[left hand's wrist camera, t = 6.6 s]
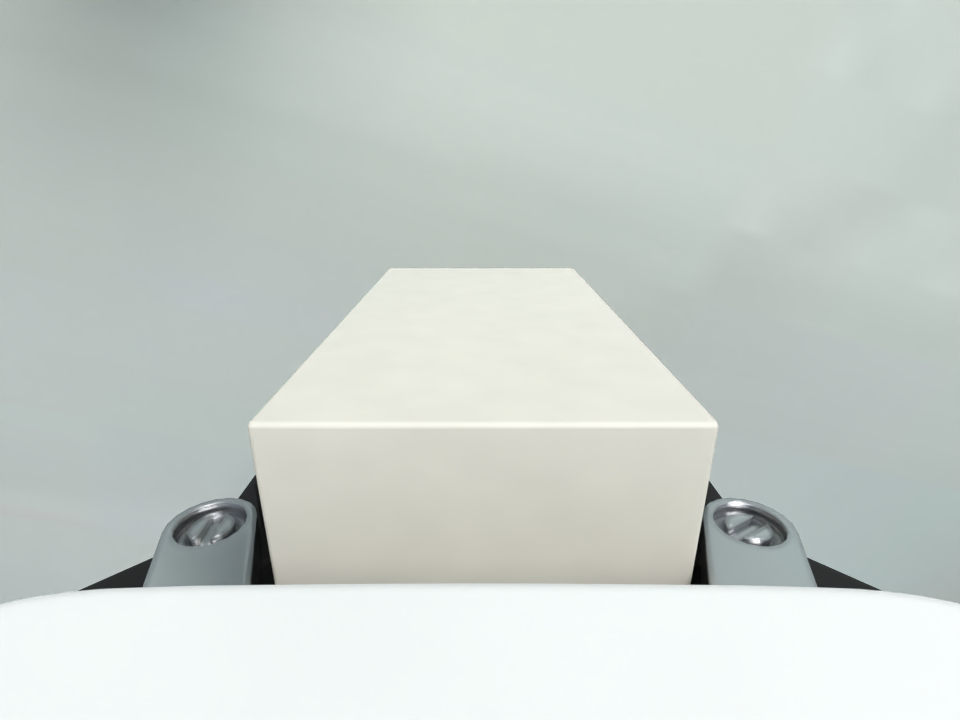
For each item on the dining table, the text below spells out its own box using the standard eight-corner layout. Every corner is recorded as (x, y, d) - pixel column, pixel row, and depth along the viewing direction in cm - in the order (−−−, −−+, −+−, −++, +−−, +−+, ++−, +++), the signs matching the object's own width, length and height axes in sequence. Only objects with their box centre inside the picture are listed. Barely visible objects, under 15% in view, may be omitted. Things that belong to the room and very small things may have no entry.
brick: (573, 267, 15) (722, 423, 6) (561, 461, 17) (655, 795, 8) (388, 267, 15) (244, 423, 6) (400, 461, 17) (309, 794, 8)
